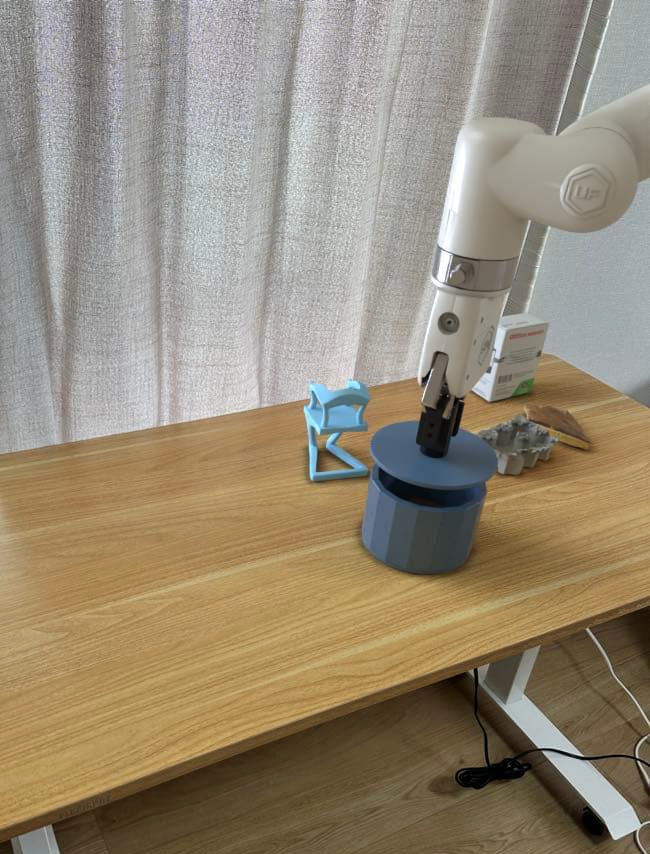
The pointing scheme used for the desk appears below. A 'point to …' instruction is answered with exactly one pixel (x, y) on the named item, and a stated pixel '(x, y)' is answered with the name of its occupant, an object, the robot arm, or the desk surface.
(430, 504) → the block
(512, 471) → the egg carton
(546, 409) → the shard
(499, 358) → the ink box
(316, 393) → the chair
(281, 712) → the desk surface
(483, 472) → the tin lid
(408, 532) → the tin
